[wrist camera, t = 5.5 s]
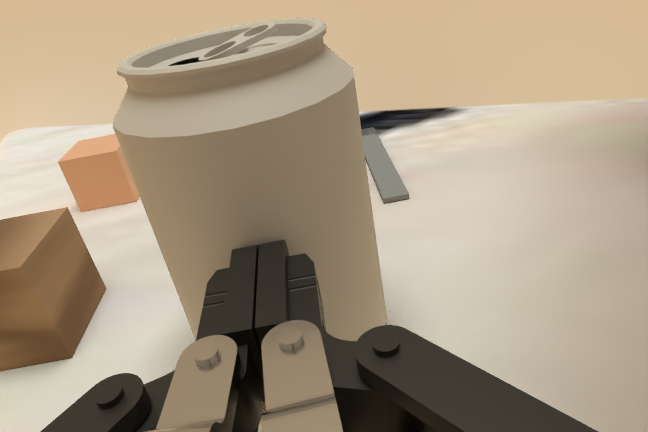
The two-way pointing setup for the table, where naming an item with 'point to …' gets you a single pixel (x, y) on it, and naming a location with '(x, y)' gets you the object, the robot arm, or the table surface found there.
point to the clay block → (98, 174)
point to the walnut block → (44, 288)
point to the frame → (382, 168)
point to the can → (254, 160)
